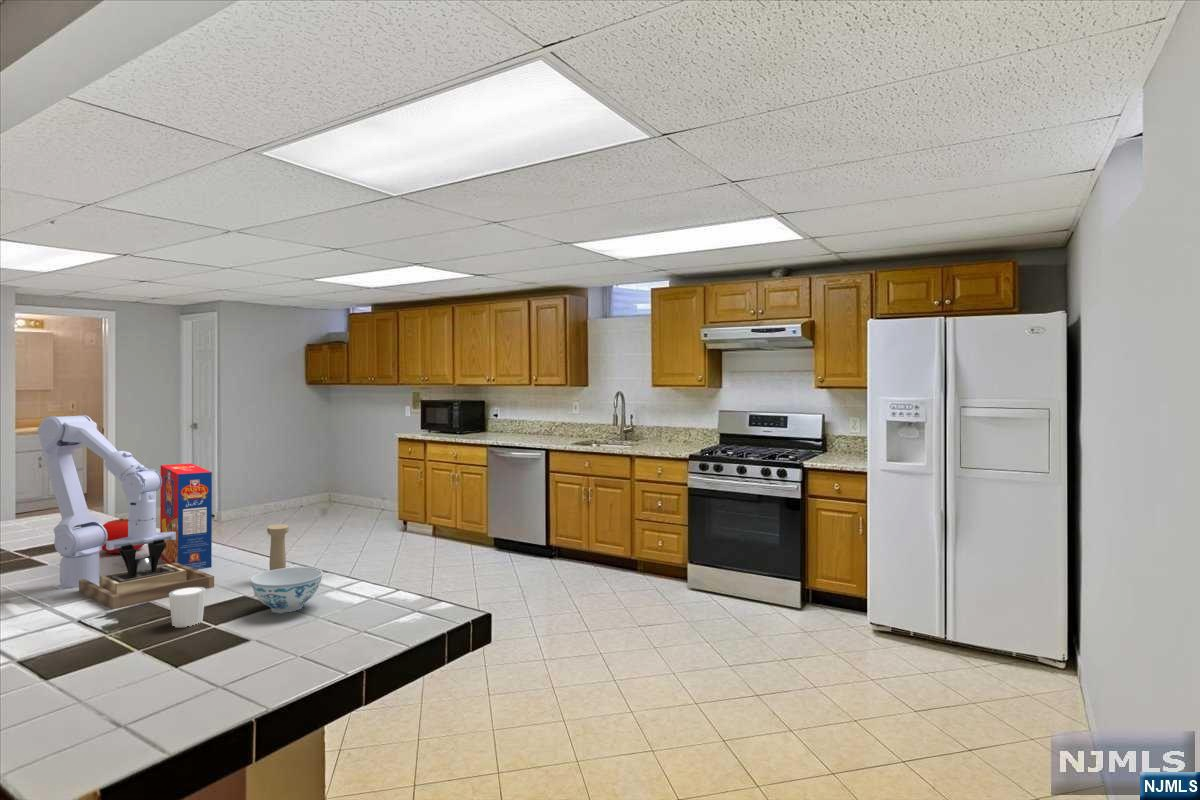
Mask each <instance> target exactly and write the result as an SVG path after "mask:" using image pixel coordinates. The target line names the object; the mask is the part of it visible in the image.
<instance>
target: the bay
mask: <svg viewBox="0 0 1200 800" xmlns="http://www.w3.org/2000/svg"><path fill="white" fill-rule="evenodd" d="M171 565H173V566H175V567H178V568H181V569H183V570H186V581H182V582H177V583H173V584H168V585H163V586H158V587H153V588H148V589H144V590H139V591H134V592H129V593H124V594H119V595H117V594H115V593H112V592H110V591H108V590H106V589H104V588H102V587H100V586H99V585H97V583H96V584H94V583H92V582H90V581H88V580H86V579H83V580H79V587H78V592H79V593H81V594H83V595H85V596H86V597H88V598H90V599H92V600H95V601H96V602H98V603H99V604H102V605H104V606H106V607H108V608H109V609H111V610H117V609H122V608H126V607H129V606H135V605H139V604H143V603H149V602H152V601H157V600H162V599H166V598H169V593H170V592H172V591H174V590H177V589H181V588H188V587H203V588H205V589H206V590H207V589H211V588H215V575H212V574H209V573H206V572H203V571H201V570H200V569H197V570H196V569H193V568H190V567H187V566H185V565H182V564H179V563H176V562H175V563H171Z"/></svg>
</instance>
